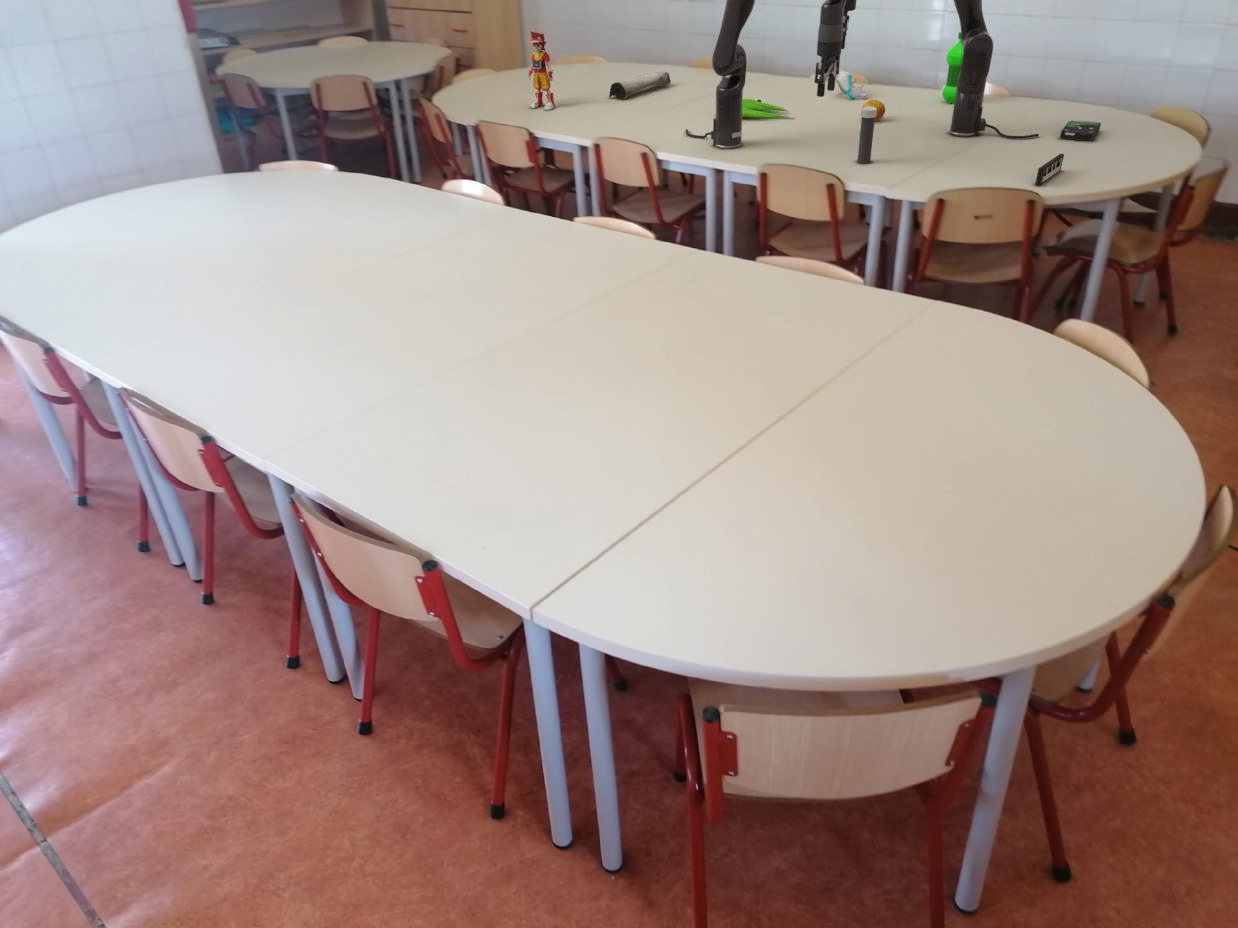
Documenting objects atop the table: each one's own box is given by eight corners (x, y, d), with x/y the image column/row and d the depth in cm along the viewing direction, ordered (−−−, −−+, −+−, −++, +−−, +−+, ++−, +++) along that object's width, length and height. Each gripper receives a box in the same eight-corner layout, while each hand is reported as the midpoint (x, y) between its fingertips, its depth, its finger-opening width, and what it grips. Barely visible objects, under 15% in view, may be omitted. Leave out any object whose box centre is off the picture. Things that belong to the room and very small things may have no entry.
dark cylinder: (872, 162, 297) (878, 110, 288) (863, 164, 296) (868, 112, 286) (864, 159, 300) (869, 108, 291) (854, 161, 299) (859, 110, 289)
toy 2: (706, 117, 350) (777, 129, 338) (708, 103, 348) (779, 115, 335) (737, 106, 371) (804, 117, 358) (738, 93, 368) (807, 104, 355)
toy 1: (525, 109, 381) (517, 32, 364) (534, 104, 388) (527, 28, 371) (550, 110, 377) (543, 32, 360) (559, 105, 384) (553, 28, 367)
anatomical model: (832, 71, 373) (856, 64, 372) (834, 96, 379) (858, 90, 378) (842, 79, 360) (867, 72, 360) (845, 105, 366) (869, 98, 366)
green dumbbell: (973, 101, 354) (984, 32, 339) (955, 106, 349) (966, 36, 335) (952, 97, 361) (962, 29, 346) (934, 102, 356) (944, 33, 342)
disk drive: (1092, 142, 302) (1099, 130, 312) (1094, 133, 301) (1101, 122, 311) (1059, 139, 307) (1067, 127, 317) (1061, 130, 305) (1069, 119, 316)
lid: (879, 116, 289) (880, 109, 287) (867, 119, 287) (868, 111, 285) (869, 113, 292) (869, 106, 291) (857, 116, 290) (858, 108, 289)
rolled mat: (651, 76, 408) (662, 61, 399) (662, 93, 408) (674, 79, 400) (605, 92, 391) (616, 77, 383) (617, 110, 391) (628, 95, 383)
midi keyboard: (1039, 185, 269) (1043, 168, 266) (1035, 184, 270) (1038, 168, 267) (1060, 170, 279) (1064, 154, 277) (1056, 169, 280) (1060, 153, 277)
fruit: (856, 112, 335) (869, 93, 332) (858, 116, 343) (871, 96, 340) (874, 125, 334) (888, 105, 331) (876, 128, 342) (889, 109, 339)
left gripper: (827, 34, 286) (823, 87, 295) (809, 42, 276) (805, 97, 286) (849, 35, 283) (844, 89, 292) (832, 43, 273) (828, 99, 282)
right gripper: (857, -3, 295) (852, 50, 304) (856, -9, 306) (852, 42, 316) (833, -2, 296) (829, 51, 306) (834, -9, 308) (830, 43, 317)
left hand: (825, 93), depth 289 cm, fingers open, 8 cm apart
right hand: (841, 46), depth 311 cm, fingers open, 8 cm apart
